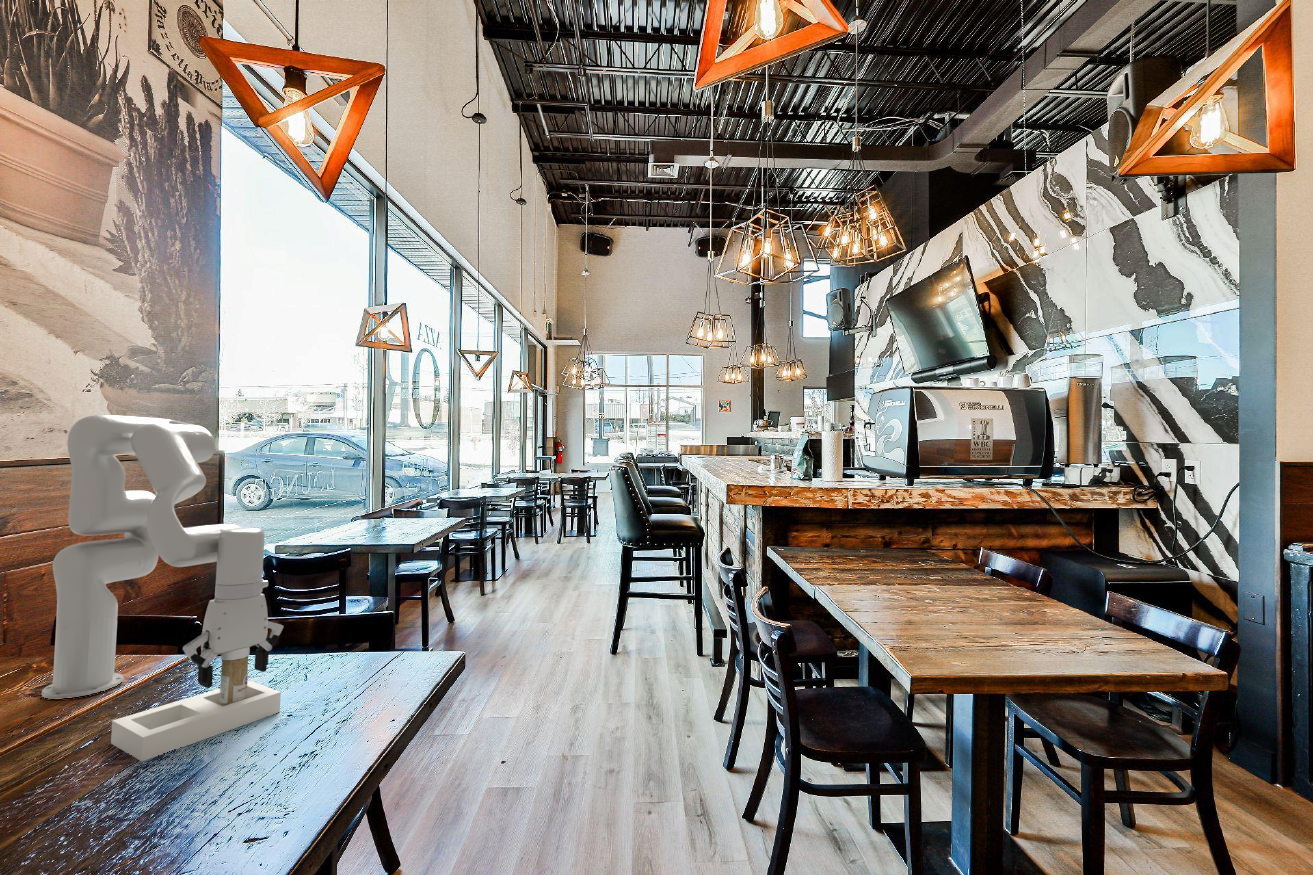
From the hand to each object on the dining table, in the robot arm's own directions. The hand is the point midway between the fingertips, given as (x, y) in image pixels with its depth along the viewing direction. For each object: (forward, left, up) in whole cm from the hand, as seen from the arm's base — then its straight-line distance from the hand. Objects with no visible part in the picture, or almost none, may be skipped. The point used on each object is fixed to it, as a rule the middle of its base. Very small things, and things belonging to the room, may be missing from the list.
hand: (234, 677), depth 114 cm
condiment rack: (0, -5, -7) cm, 9 cm away
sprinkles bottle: (0, 0, -8) cm, 8 cm away
